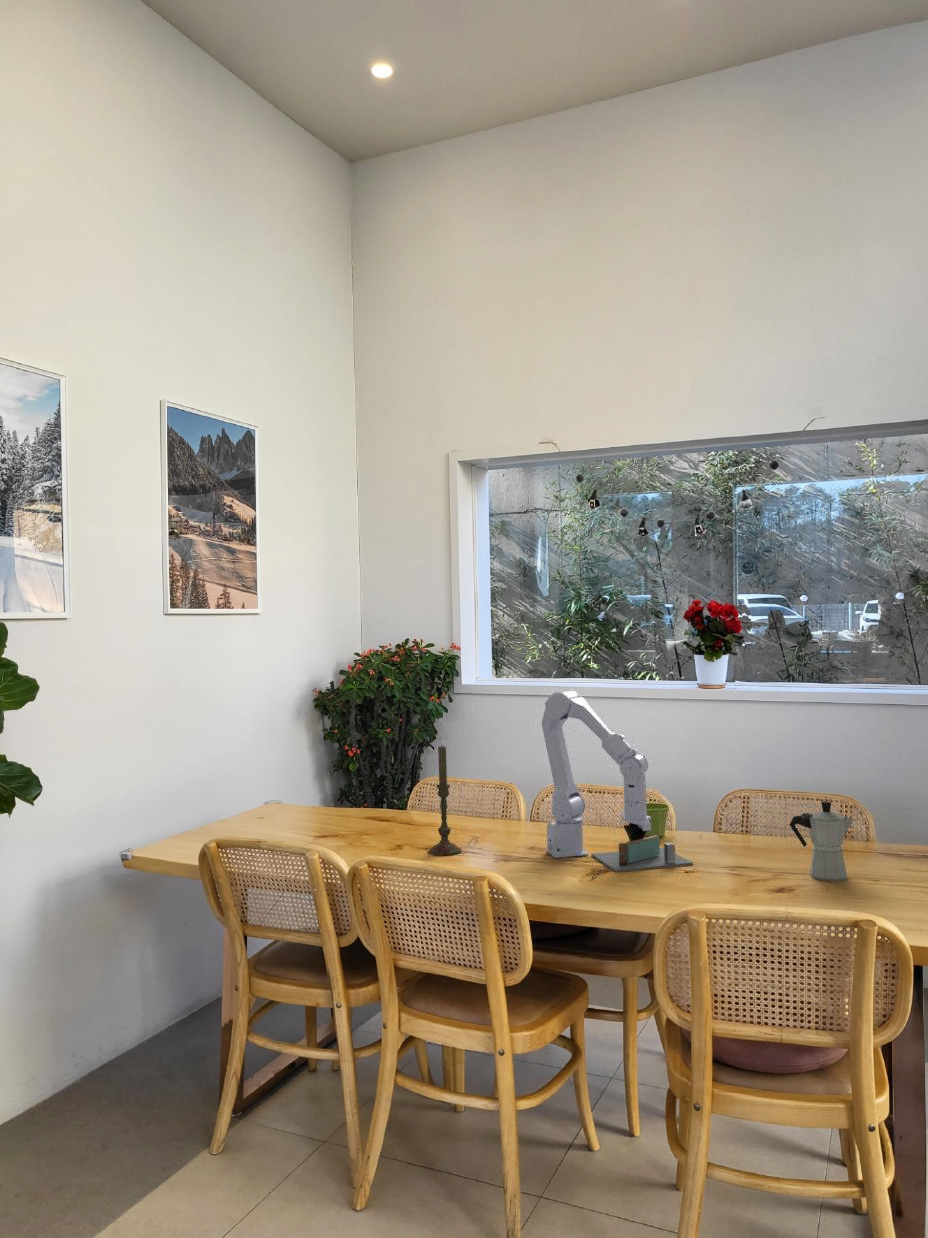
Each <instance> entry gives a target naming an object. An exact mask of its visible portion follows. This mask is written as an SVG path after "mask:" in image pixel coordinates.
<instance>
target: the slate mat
mask: <svg viewBox="0 0 928 1238" xmlns="http://www.w3.org/2000/svg"><path fill="white" fill-rule="evenodd" d="M659 851H660V855H657V856H653V857H649V858H645V859H642V860H638V861H634V862H630V863H627V866H620V865H619V850H618V851H610V852H609V851H608V852H607V851H606V852H597V853H591V857H592V858H594V859H595V860H597V861H599V863H601V864H602V865H604V866H605V867H606V868H609V869H610V870H612V871H613V872H615V873H619V872H628V871H629V872H631V871H632V872H633V871H640V870H642V871H643V870H652V869H653V870H655V869H661V868H664V869H665V868H673V867H675V868H676V867H685V866H686V867H688V866H693V864H694V863H693V862H692V861H690V860H688V859H686V858H685V857H683V856H681V855H679V854H678V853H675V864H667V863H665V856H664V847H659Z"/></svg>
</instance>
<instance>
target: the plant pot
mask: <svg viewBox="0 0 928 1238" xmlns="http://www.w3.org/2000/svg"><path fill="white" fill-rule="evenodd" d="M669 809H670V805H669V804H667V803H663V802H662V803H661V802H646V810H647V816H650V817H651V820H648V821H649V822H650V823H651V830H648V831H647V832H646V834H645V836H644V837H651V836H655V835H657V836H658V838H660V837H664V836H665V834H666V827H667V826H666V825H667V816H668V813H669Z"/></svg>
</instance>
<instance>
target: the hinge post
mask: <svg viewBox="0 0 928 1238" xmlns="http://www.w3.org/2000/svg"><path fill="white" fill-rule="evenodd" d="M626 843H627V842H619V843H618V851H619V865H620V866H627V844H626Z"/></svg>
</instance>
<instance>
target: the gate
mask: <svg viewBox="0 0 928 1238" xmlns="http://www.w3.org/2000/svg"><path fill="white" fill-rule="evenodd" d="M625 843H626V844H627V863H630V862H634V861H638V860H642V859H645V858H649V857H653V856H657V855H660V851H659V848H660V837H658V836H657V835H655V836H651V837H648V836H645V837H644V838H642V839H638V840H634V841H630V840H629V841H626V842H625Z"/></svg>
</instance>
